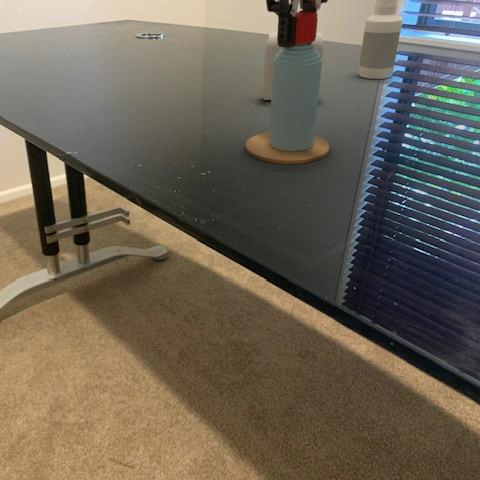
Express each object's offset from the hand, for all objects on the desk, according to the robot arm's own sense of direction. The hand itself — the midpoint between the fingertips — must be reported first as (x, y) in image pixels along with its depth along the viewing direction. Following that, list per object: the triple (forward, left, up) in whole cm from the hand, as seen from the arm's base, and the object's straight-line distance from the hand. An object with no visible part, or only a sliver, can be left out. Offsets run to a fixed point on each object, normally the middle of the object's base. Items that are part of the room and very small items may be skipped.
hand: (295, 43), depth 67 cm
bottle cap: (0, 0, 0) cm, 0 cm away
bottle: (-1, 0, -14) cm, 14 cm away
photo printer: (-20, -16, -15) cm, 30 cm away
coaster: (0, 0, -15) cm, 15 cm away
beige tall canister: (-45, -14, -15) cm, 49 cm away
